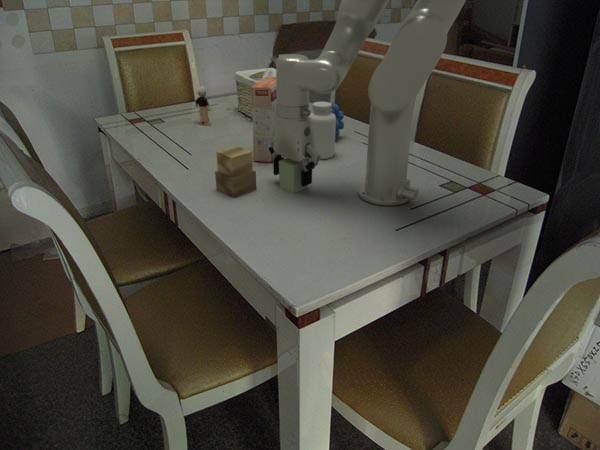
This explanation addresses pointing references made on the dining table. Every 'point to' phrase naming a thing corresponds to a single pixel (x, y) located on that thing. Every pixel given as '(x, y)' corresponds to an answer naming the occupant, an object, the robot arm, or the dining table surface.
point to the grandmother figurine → (203, 106)
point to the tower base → (236, 183)
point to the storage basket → (249, 87)
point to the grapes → (337, 118)
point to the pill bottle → (323, 129)
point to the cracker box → (263, 117)
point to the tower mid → (234, 161)
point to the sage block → (290, 175)
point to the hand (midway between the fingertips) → (292, 179)
